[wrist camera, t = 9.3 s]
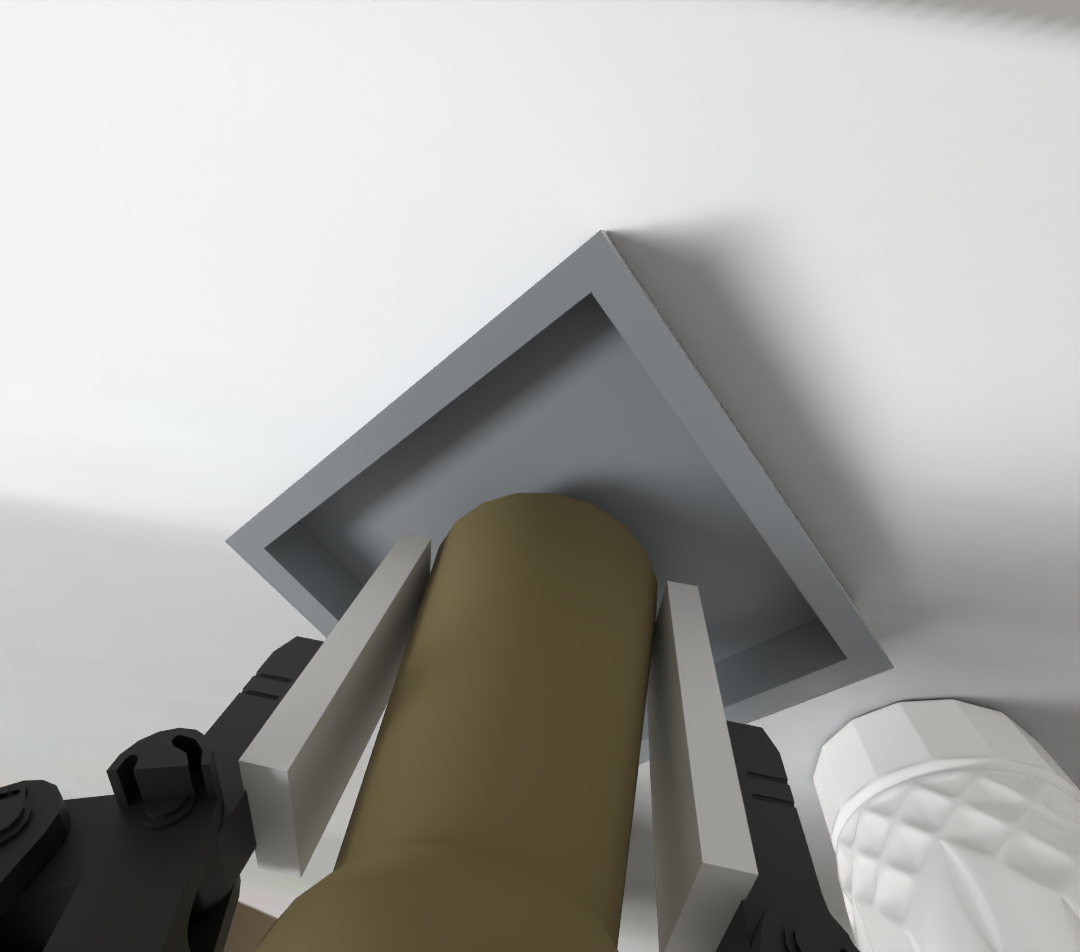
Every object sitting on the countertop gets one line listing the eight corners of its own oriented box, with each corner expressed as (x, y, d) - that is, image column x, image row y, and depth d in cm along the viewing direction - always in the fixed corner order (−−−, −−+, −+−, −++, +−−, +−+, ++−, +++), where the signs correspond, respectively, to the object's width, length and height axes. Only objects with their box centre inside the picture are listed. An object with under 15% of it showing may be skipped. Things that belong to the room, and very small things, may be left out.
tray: (277, 499, 17) (224, 541, 15) (604, 230, 12) (600, 230, 10) (523, 747, 20) (510, 812, 18) (854, 604, 16) (894, 667, 13)
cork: (404, 507, 14) (-157, 1223, 4) (641, 476, 12) (713, 1429, 3) (466, 684, 16) (214, 1414, 6) (671, 673, 15) (769, 1570, 5)
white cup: (1076, 672, 16) (1699, 1278, 7) (1043, 844, 18) (1441, 1426, 10) (787, 690, 17) (966, 1189, 8) (800, 845, 20) (941, 1337, 11)
